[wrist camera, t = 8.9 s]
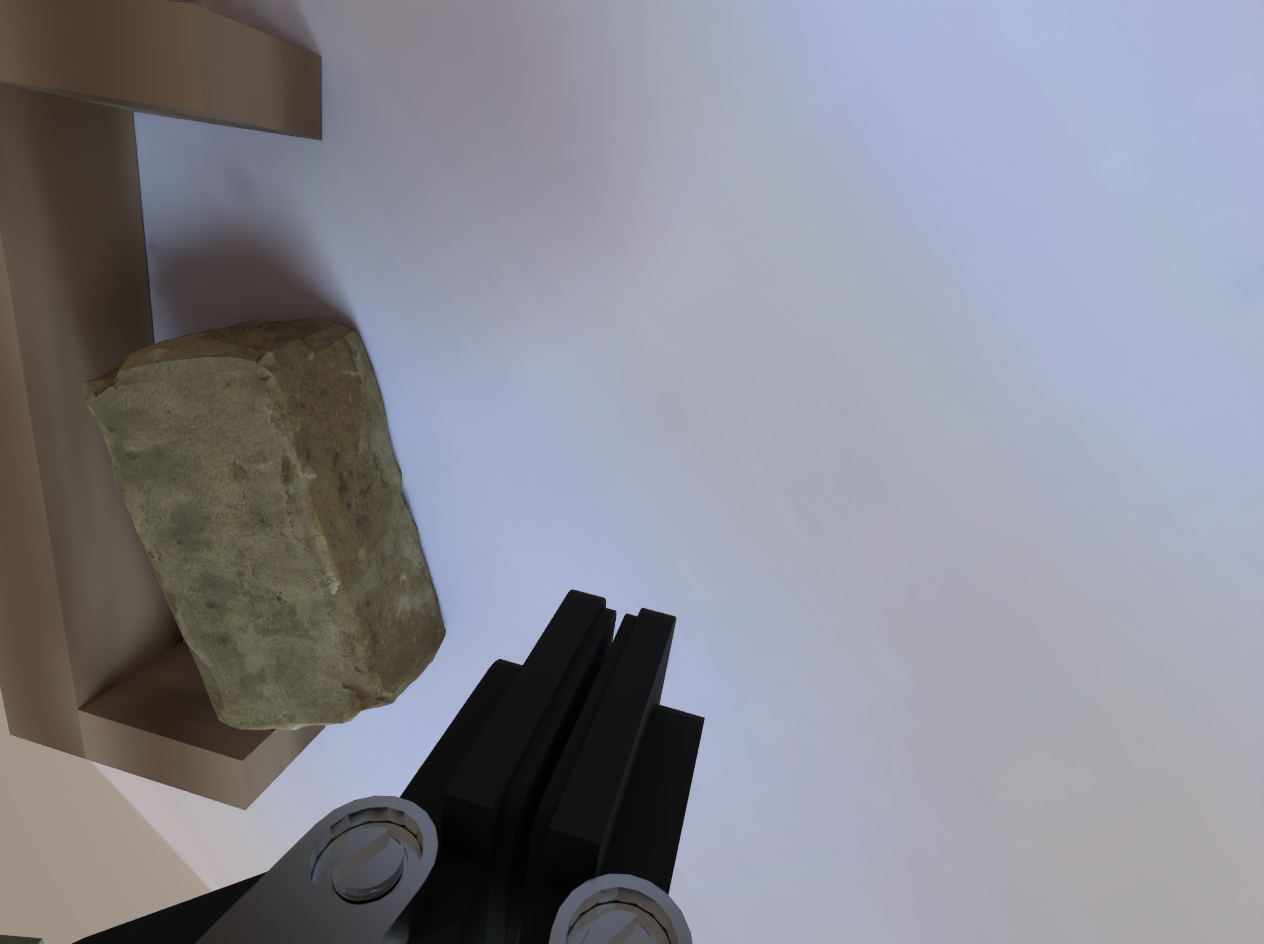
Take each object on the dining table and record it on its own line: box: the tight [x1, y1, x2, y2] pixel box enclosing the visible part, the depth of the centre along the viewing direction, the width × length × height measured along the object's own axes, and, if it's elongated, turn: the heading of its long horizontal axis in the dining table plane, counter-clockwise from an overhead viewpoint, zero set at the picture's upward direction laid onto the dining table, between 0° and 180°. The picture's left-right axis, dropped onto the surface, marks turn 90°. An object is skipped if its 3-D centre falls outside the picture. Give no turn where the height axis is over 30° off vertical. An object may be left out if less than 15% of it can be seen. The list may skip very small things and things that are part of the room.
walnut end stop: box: [0, 0, 325, 810], centre depth 20 cm, size 9×22×4 cm, turn 171°
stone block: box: [83, 317, 446, 730], centre depth 20 cm, size 6×12×5 cm, turn 12°
